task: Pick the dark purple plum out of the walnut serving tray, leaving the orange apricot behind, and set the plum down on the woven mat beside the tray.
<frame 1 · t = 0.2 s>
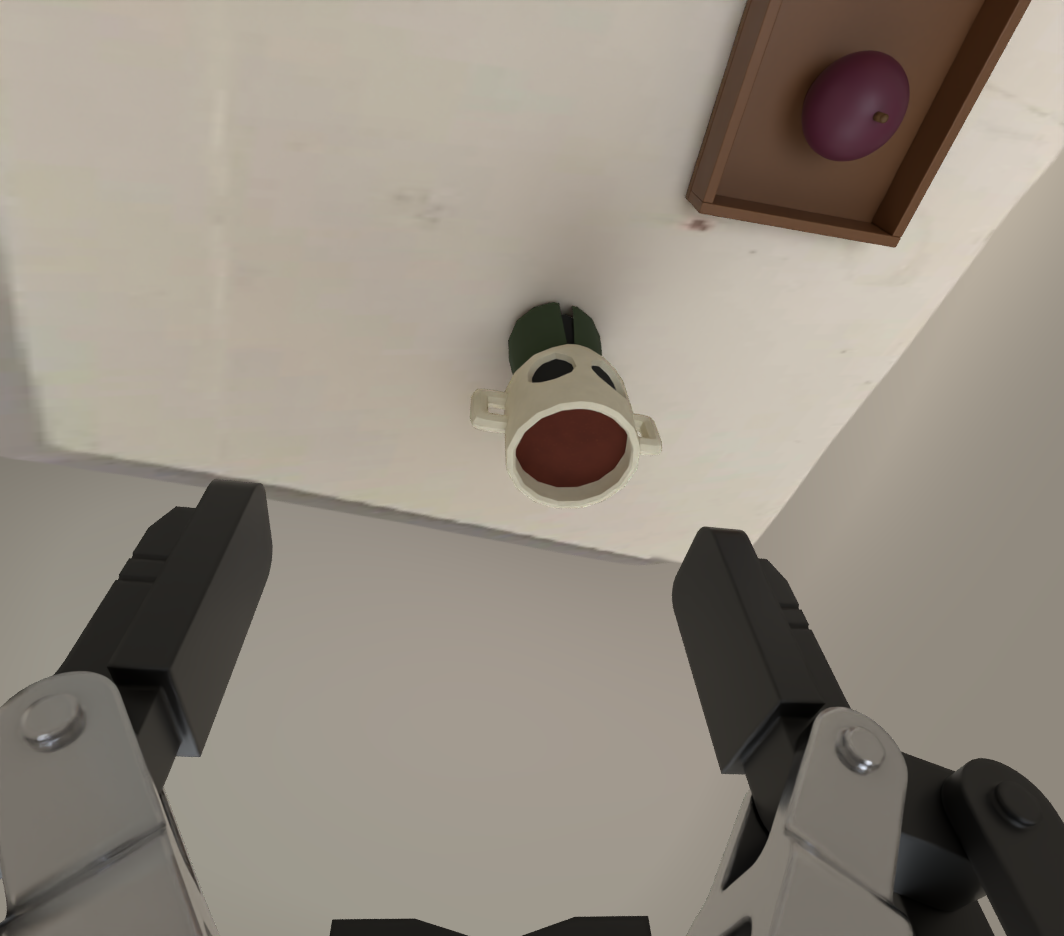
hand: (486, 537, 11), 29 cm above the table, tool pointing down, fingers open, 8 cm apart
tray: (860, 20, 30), on the table
plum: (832, 101, 32), point 1 cm above the table, touching tray
character mug: (553, 341, 41), on the table
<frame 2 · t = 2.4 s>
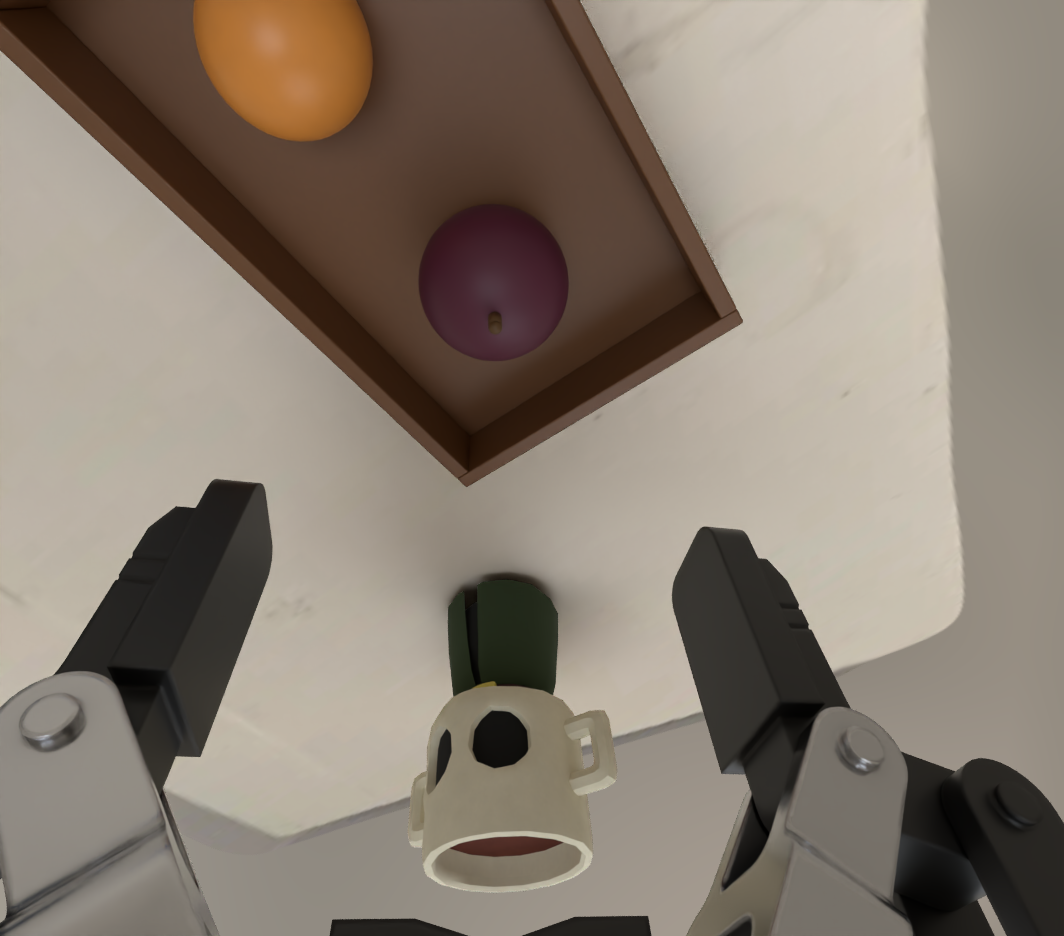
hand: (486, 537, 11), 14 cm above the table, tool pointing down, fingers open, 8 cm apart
tray: (428, 166, 20), on the table
apricot: (306, 41, 17), point 1 cm above the table, touching tray
plum: (493, 258, 21), point 1 cm above the table, touching tray
character mug: (502, 604, 34), on the table
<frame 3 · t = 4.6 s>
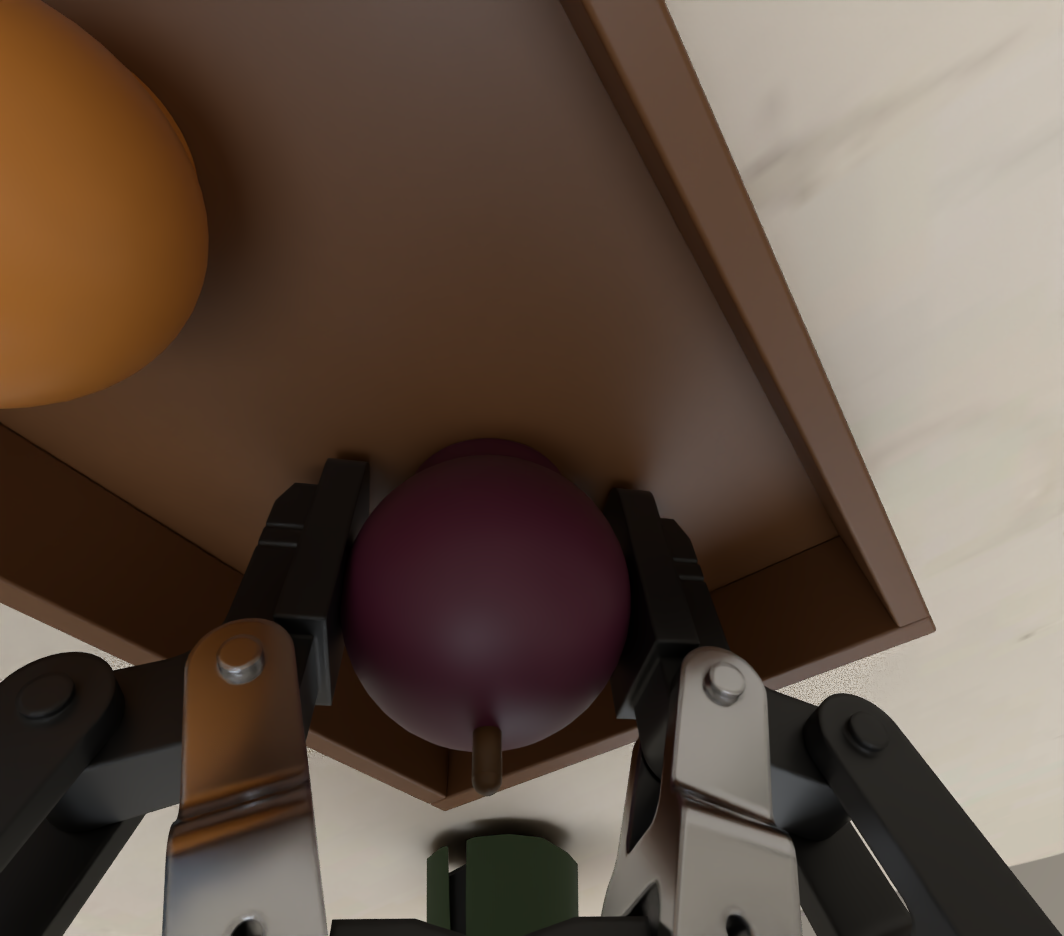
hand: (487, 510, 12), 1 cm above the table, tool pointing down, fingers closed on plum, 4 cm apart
tray: (368, 362, 11), on the table
apricot: (85, 159, 8), point 1 cm above the table, touching tray
plum: (488, 500, 12), point 1 cm above the table, touching gripper, tray
character mug: (501, 842, 25), on the table
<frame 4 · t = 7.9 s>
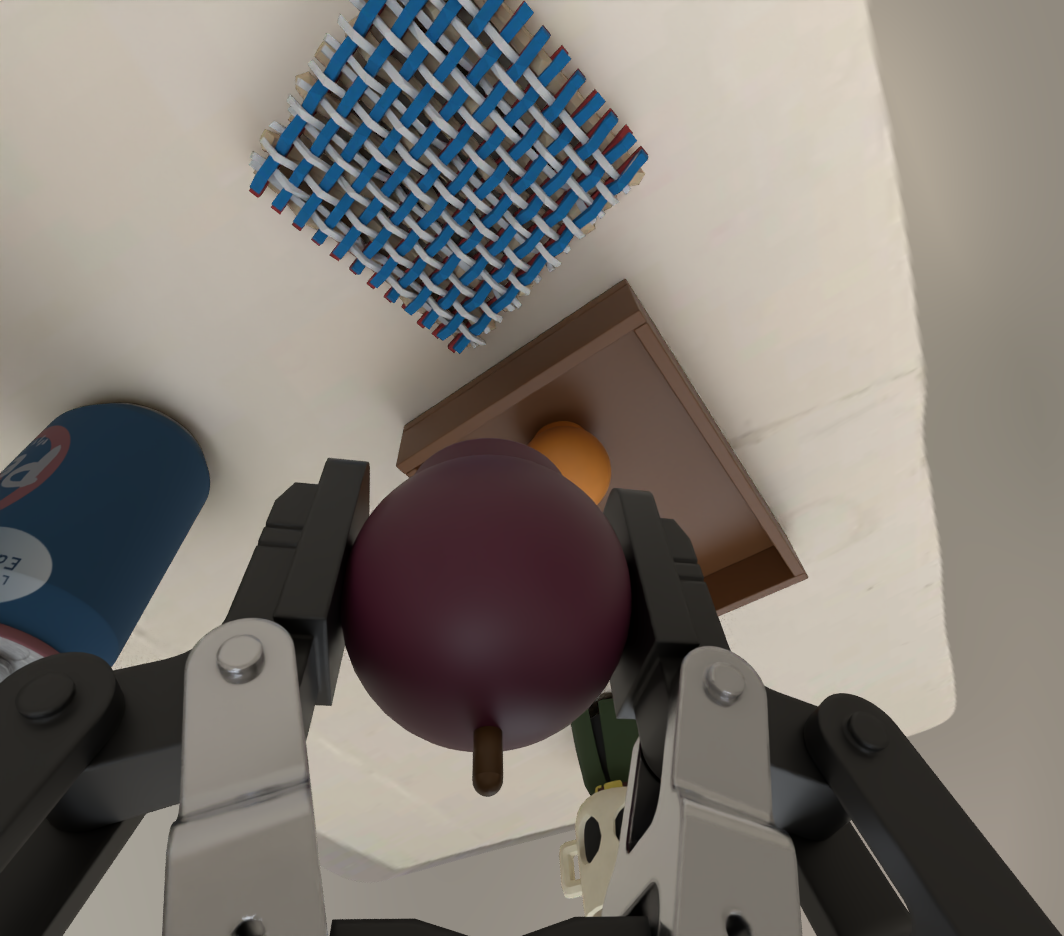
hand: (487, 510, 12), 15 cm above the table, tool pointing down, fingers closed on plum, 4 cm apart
tray: (614, 487, 32), on the table
woven mat: (449, 164, 22), on the table
apricot: (560, 444, 29), point 1 cm above the table, touching tray
soda can: (144, 448, 29), on the table
plum: (488, 500, 12), point 15 cm above the table, touching gripper
character mug: (610, 710, 46), on the table
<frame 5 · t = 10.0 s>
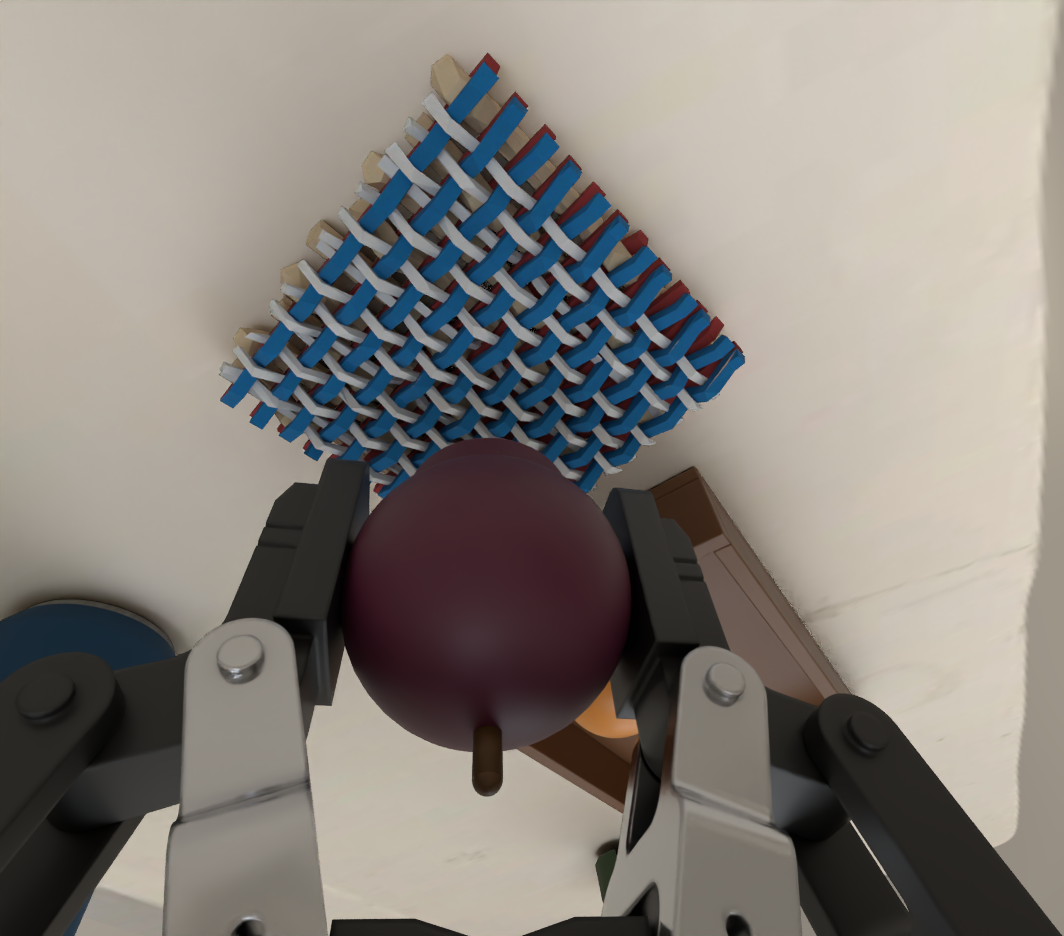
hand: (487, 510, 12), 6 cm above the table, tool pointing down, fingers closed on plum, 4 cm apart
tray: (662, 661, 27), on the table
woven mat: (481, 351, 17), on the table
apricot: (604, 630, 24), point 1 cm above the table, touching tray
soda can: (100, 639, 24), on the table
plum: (488, 500, 12), point 6 cm above the table, touching gripper
character mug: (638, 846, 42), on the table
when the fingers open (2 cm above the table, at t = 11.5 s): plum stays where it is, resting on woven mat.
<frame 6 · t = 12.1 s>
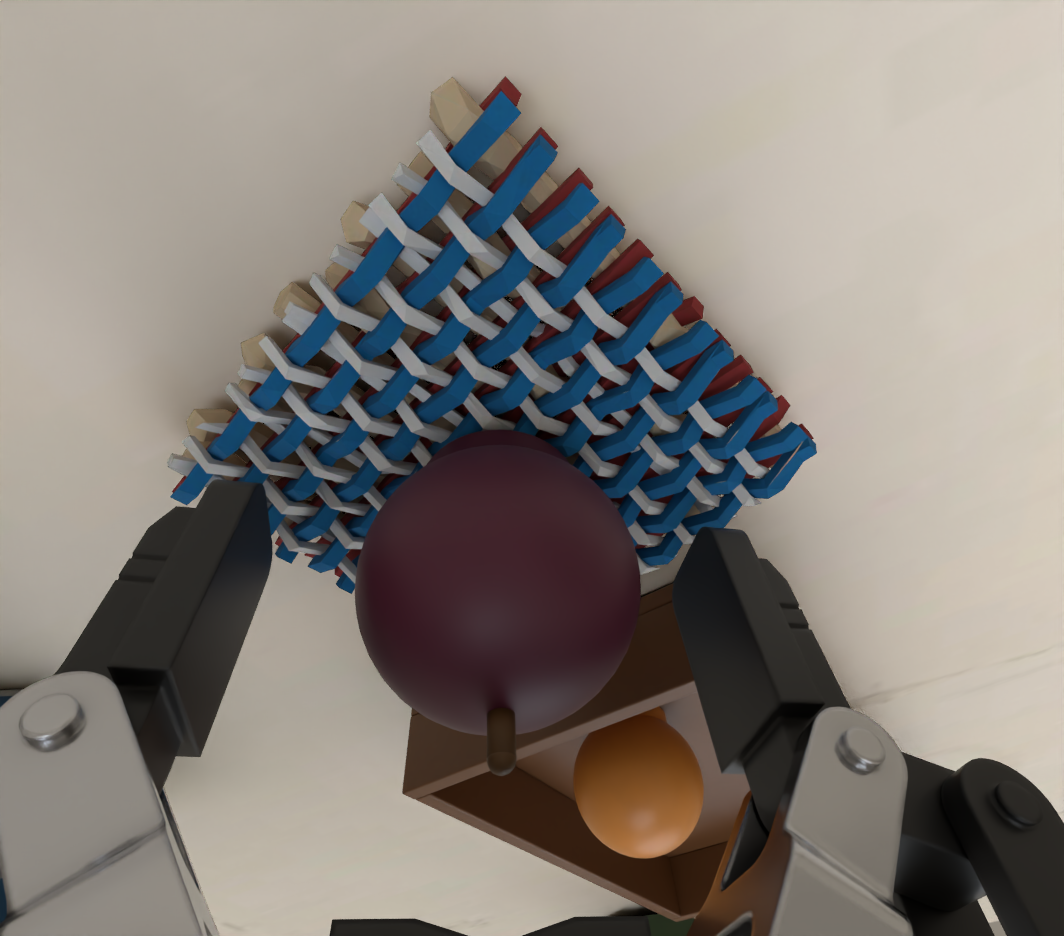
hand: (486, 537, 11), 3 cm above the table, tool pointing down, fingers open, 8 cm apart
tray: (688, 745, 24), on the table
woven mat: (491, 428, 14), on the table, touching plum
apricot: (626, 720, 21), point 1 cm above the table, touching tray
soda can: (56, 726, 21), on the table
plum: (498, 492, 12), point 2 cm above the table, touching woven mat
character mug: (652, 913, 39), on the table
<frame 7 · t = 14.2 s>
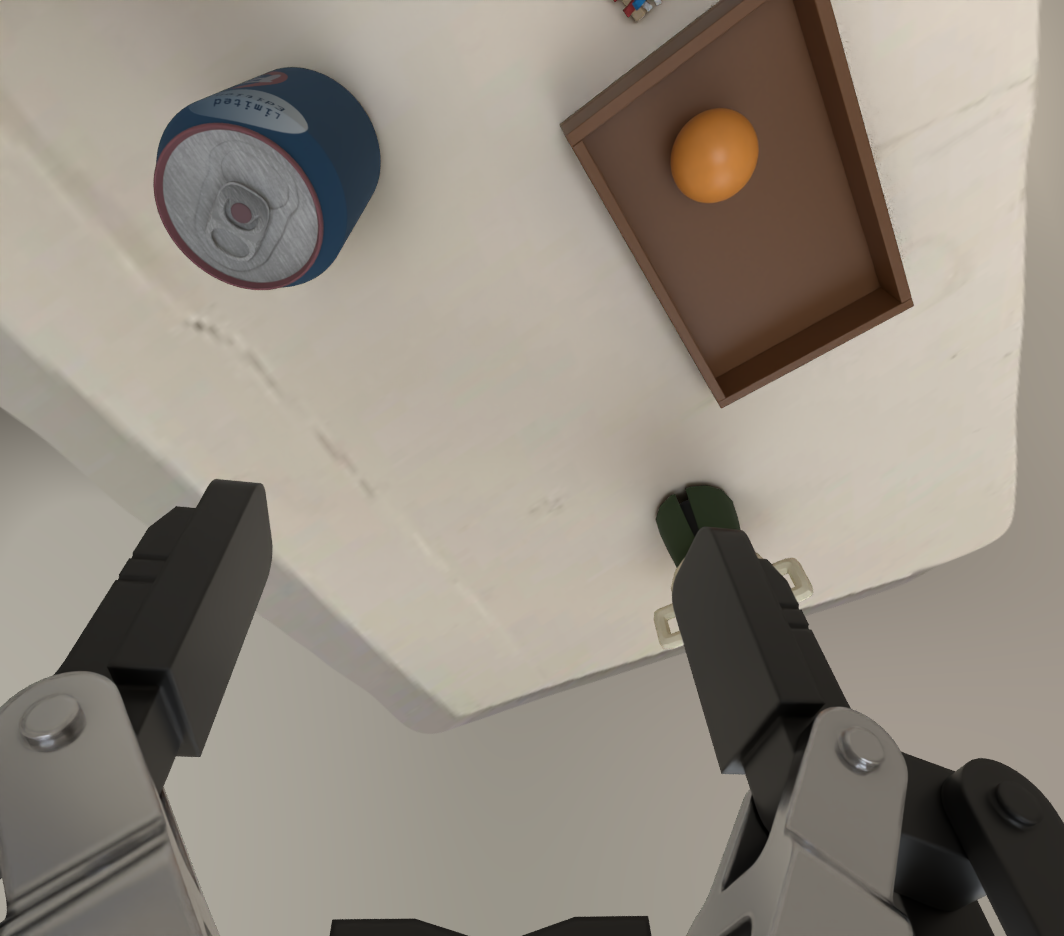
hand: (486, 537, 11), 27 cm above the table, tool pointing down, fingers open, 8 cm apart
tray: (739, 212, 34), on the table
apricot: (702, 148, 31), point 1 cm above the table, touching tray
soda can: (316, 144, 31), on the table
character mug: (691, 508, 49), on the table
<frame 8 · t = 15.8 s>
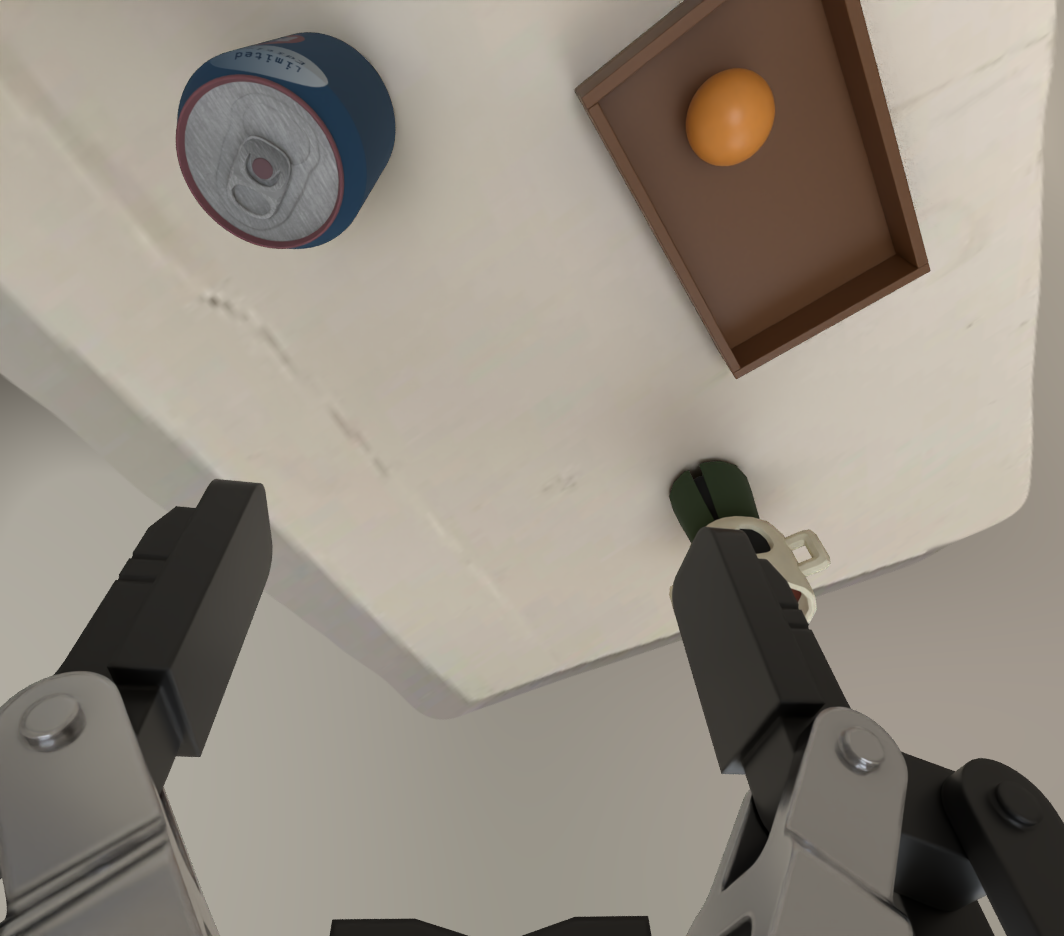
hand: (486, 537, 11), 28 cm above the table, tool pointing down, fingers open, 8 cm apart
tray: (753, 178, 34), on the table
apricot: (716, 111, 31), point 1 cm above the table, touching tray
soda can: (331, 113, 31), on the table
character mug: (705, 485, 49), on the table
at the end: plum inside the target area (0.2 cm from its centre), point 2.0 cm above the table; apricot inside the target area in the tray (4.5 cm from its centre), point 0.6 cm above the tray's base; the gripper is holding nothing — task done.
